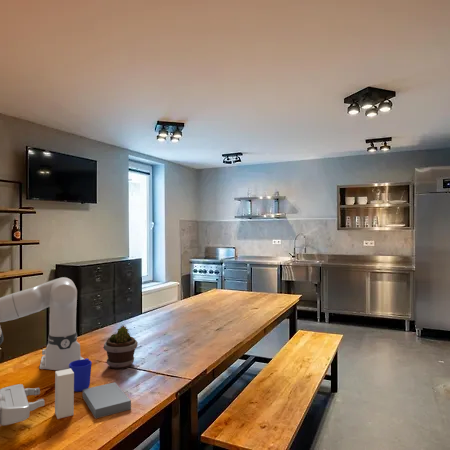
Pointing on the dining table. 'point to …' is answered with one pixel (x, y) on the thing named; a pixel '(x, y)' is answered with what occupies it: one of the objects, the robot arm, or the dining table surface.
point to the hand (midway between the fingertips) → (42, 396)
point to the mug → (81, 373)
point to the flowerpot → (120, 349)
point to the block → (64, 393)
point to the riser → (106, 400)
